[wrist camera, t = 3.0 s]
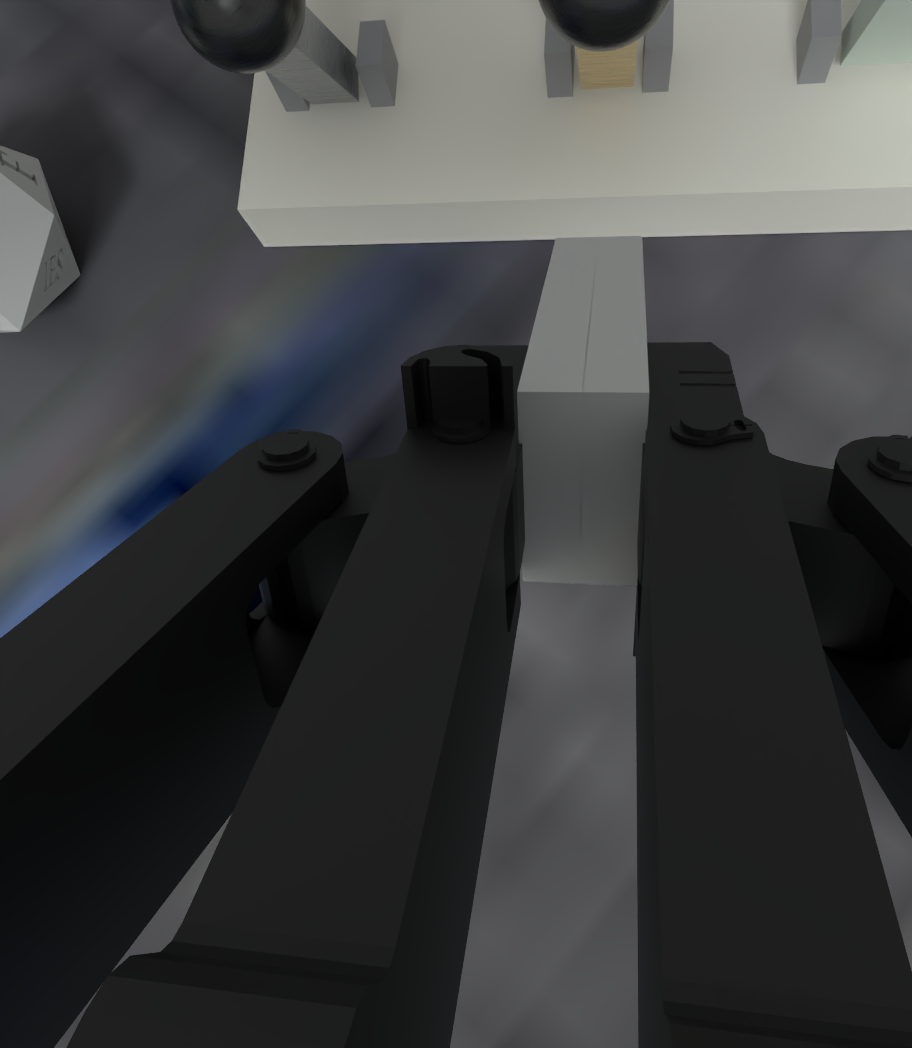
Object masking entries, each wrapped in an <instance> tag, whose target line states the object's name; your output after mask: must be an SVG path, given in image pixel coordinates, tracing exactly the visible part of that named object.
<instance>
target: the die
mask: <svg viewBox="0 0 912 1048" xmlns="http://www.w3.org/2000/svg"><path fill="white" fill-rule="evenodd" d="M79 276H80V272H79V269H78V266H77V264H76V261H75V258H74V255H73V253H72V250H71V247H70V244H69V242H68V239H67V237H66V234H65V231H64V228H63V225H62V223H61V220H60V217H59V214H58V212H57V209H56V206H55V203H54V201H53V198H52V195H51V192H50V190H49V187H48V184H47V181H46V179H45V176H44V173H43V171H42V168H41V165H40V162H39V160H38V159H37V158H34V157H31V156H28V155H26V154H23V153H20V152H17V151H14V150H12V149H9V148H6V147H3V146H0V333H3V332H21V331H22V330H23V329H24V328H25V327H26V326H27V325H28V324H29V323H30V322H31V321H32V320H33V319H34V318H35V317H37V316H38V315H39V314H40V313H41V312H42V311H43V310H44V309H45V308H46V307H47V306H48V305H49V304H50V303H51V302H52V301H54V300H55V299H56V298H57V297H58V296H59V295H60V294H61V293H62V292H63V291H64V290H65V289H66V288H67V287H68V286H69V285H70V284H72V283H73V282H74V281H75V280H76V279H77V278H78V277H79Z"/></svg>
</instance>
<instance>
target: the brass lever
mask: <svg viewBox="0 0 912 1048" xmlns="http://www.w3.org/2000/svg"><path fill="white" fill-rule="evenodd" d="M669 2H670V0H539V3H540V6H541V9H542V11H543V13H544V15H545V17H546V19H547V21H548V22H549V24H550V25H551V27H552V28H553V29H554V30H555V31H556V33H558V34H559V35H560V36H561V37H562V38H563V39H565V40H566V41H568V42H569V43H570V44H572V45H574V46H576V54H577V61H578V68H579V76H580V83H581V89H599V88H617V87H633V86H634V75H635V64H636V53H637V41H638V40H639V39H640V38H641V37H643V36H644V35H645V34H646V33H647V32H648V31H649V30H650V29H651V28H652V27H654V26H655V24H656V23H657V22H658V21H659V19H660V18H661V17H662V15H663V13H664V12H665V10H666V9H667V7H668V4H669Z"/></svg>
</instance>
